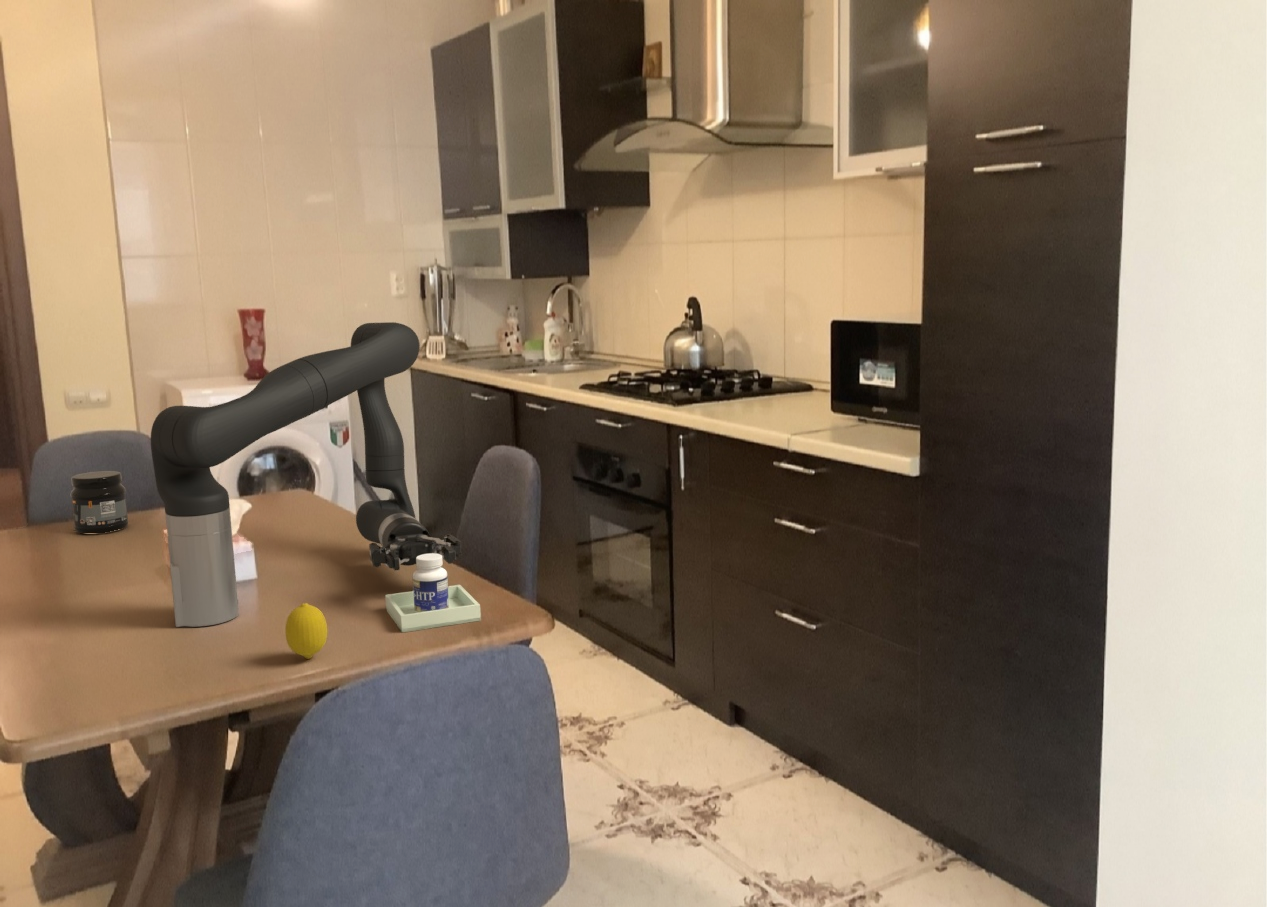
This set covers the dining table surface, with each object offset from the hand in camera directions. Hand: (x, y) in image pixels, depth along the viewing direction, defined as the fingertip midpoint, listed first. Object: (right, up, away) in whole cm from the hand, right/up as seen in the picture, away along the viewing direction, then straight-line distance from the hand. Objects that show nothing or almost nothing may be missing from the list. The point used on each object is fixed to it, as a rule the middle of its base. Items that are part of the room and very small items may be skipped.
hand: (424, 560), depth 167 cm
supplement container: (-81, 0, +61) cm, 101 cm away
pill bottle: (+2, -8, -2) cm, 8 cm away
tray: (+2, -8, -2) cm, 9 cm away
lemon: (-12, -12, -19) cm, 26 cm away
